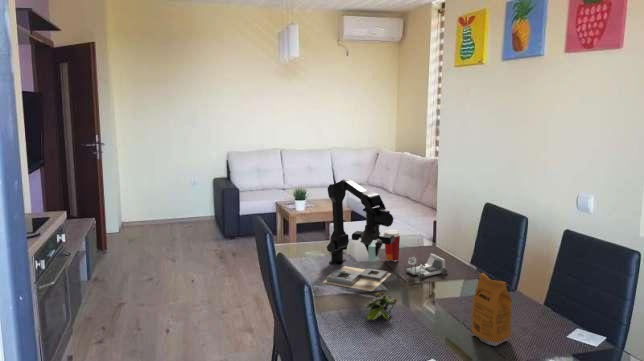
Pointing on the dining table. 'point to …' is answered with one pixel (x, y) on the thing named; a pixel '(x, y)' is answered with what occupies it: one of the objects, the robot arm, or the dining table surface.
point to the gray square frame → (367, 275)
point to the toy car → (427, 266)
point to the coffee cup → (392, 245)
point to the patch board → (361, 280)
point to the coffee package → (491, 310)
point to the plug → (372, 253)
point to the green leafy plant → (380, 306)
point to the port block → (348, 280)
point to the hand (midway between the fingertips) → (373, 255)
